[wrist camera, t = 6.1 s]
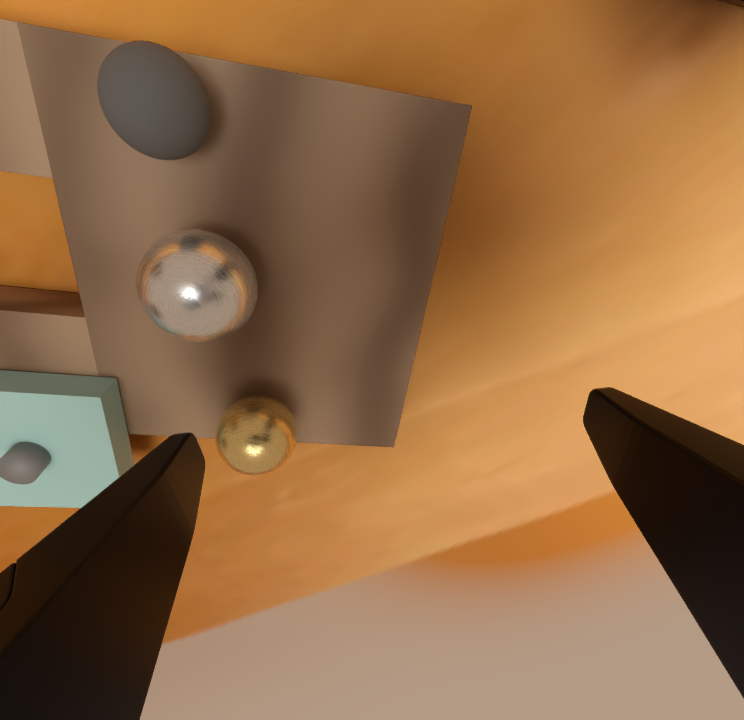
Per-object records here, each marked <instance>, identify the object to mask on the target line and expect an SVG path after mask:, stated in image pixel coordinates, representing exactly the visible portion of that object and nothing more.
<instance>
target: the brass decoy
mask: <svg viewBox="0 0 744 720" xmlns="http://www.w3.org/2000/svg"><path fill="white" fill-rule="evenodd" d="M296 441H297V426H296V421H295V419H294V416H293V415H292V413H291V411H290V410H289V409H288V408H287V407H286V406H285V405H284V404H283V403H282V402H280V401H278V400H277V399H274V398H272V397H269V396H263V395H255V396H248V397H245V398H242V399H240V400H238V401H236V402H235V403H233V404H232V405H231V406H230V407H229V408H227V410H226V411H225V412H224V413H223V415H222V416H221V418H220V420H219V422H218V425H217V429H216V445H217V449H218V452H219V454H220V456H221V458H222V459H223V460H224V462H225V463H226V464H227V465H228V466H230V467H231V468H232V469H234V470H235V471H237V472H240V473H243V474H247V475H262V474H266V473H269V472H272V471H274V470H276V469H277V468H279V467H280V466H282V465H283V464H284V463H285V462H286V461H287V460H288V458H289V457H290V456H291V454H292V452H293V450H294V448H295V445H296Z"/></svg>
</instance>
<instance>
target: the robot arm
mask: <svg viewBox="0 0 744 720" xmlns="http://www.w3.org/2000/svg"><path fill="white" fill-rule="evenodd" d="M720 1H724V2H728V3H732V4H736V5H740V6H744V0H720ZM583 423H584V427H585V429H586V431H587V433H588V435H589V437H590V440H591V442H592V444H593V446H594V448H595V450H596V452H597V454H598V456H599V458H600V461H601V463H602V465H603V467H604V469H605V471H606V473H607V475H608V477H609V479H610V481H611V483H612V485H613V487H614V488H615V490H616V492H617V493H618V495H619V497H620V498H621V500H622V501H623V503H624V505H625V507H626V508H627V510H628V511H629V513H630V515H631V516H632V518H633V519H634V521H635V523H636V524H637V526H638V528H639V529H640V531H641V532H642V534H643V536H644V537H645V539H646V541H647V542H648V544H649V545H650V547H651V549H652V550H653V552H654V553H655V555H656V557H657V558H658V560H659V562H660V563H661V565H662V566H663V568H664V570H665V571H666V573H667V575H668V576H669V578H670V579H671V581H672V583H673V584H674V586H675V588H676V589H677V591H678V593H679V594H680V596H681V597H682V599H683V600H684V602H685V604H686V605H687V607H688V609H689V610H690V612H691V614H692V615H693V617H694V618H695V620H696V622H697V623H698V625H699V627H700V628H701V630H702V631H703V633H704V635H705V636H706V638H707V639H708V641H709V643H710V644H711V646H712V648H713V649H714V651H715V653H716V654H717V656H718V657H719V659H720V661H721V662H722V664H723V666H724V667H725V669H726V670H727V672H728V674H729V675H730V677H731V679H732V680H733V682H734V683H735V685H736V687H737V688H738V690H739V691H740V693H741V695H742V696H743V698H744V445H742V444H740V443H738V442H736V441H733V440H731V439H729V438H726V437H724V436H722V435H719V434H717V433H715V432H713V431H710V430H708V429H706V428H703V427H701V426H699V425H697V424H694V423H692V422H690V421H687V420H685V419H683V418H681V417H678V416H676V415H674V414H671V413H669V412H667V411H665V410H662V409H660V408H658V407H655V406H653V405H651V404H649V403H646V402H644V401H642V400H639V399H637V398H635V397H632V396H630V395H628V394H626V393H623V392H621V391H619V390H616V389H614V388H611V387H606V388H597V389H593V390H592V391H591V392H590V393H589V396H588V400H587V404H586V408H585V412H584V416H583ZM204 472H205V459H204V456H203V454H202V451H201V449H200V446H199V444H198V442H197V439H196V437H195V435H194V434H193V433H190V432H186V433H177V434H173V435H171V436H170V437H168V438H167V439H166V440H165V441H163V442H162V443H161V444H160V445H159V446H157V447H156V448H155V449H154V450H152V451H151V452H150V453H149V454H147V455H146V456H145V457H144V458H142V459H141V460H140V461H139V462H137V463H136V464H135V465H134V466H133V467H131V468H130V469H129V470H128V471H126V472H125V473H124V474H123V475H121V476H120V477H119V478H118V479H116V480H115V481H114V482H113V483H111V484H110V485H109V486H108V487H107V488H105V489H104V490H103V491H102V492H100V493H99V494H98V495H97V496H95V497H94V498H93V499H92V500H90V501H89V502H88V503H87V504H85V505H84V506H83V507H82V508H80V509H79V510H78V511H77V512H76V513H74V514H73V515H72V516H71V517H69V518H68V519H67V520H66V521H64V522H63V523H62V524H61V525H59V526H58V527H57V528H56V529H54V530H53V531H52V532H51V533H49V534H48V535H47V536H46V537H44V538H43V539H42V540H41V541H40V542H38V543H37V544H36V545H35V546H33V547H32V548H31V549H30V550H28V551H27V552H26V553H25V554H23V555H22V556H21V557H20V558H18V559H17V562H16V563H12V564H11V565H10V566H8V567H7V568H6V569H5V570H3V571H2V572H1V573H0V720H140V716H141V713H142V709H143V706H144V703H145V699H146V696H147V692H148V689H149V685H150V682H151V679H152V675H153V672H154V668H155V665H156V661H157V658H158V655H159V651H160V648H161V644H162V641H163V637H164V634H165V631H166V627H167V624H168V620H169V617H170V613H171V610H172V607H173V603H174V600H175V596H176V593H177V589H178V586H179V583H180V579H181V576H182V572H183V569H184V565H185V562H186V559H187V555H188V552H189V548H190V545H191V541H192V537H193V534H194V529H195V524H196V519H197V513H198V507H199V501H200V496H201V490H202V484H203V478H204Z"/></svg>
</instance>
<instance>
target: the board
mask: <svg viewBox="0 0 744 720" xmlns="http://www.w3.org/2000/svg"><path fill="white" fill-rule="evenodd" d="M124 43H127V42H123V41H118V40H112V39H107V38H101V37H96V36H90V35H85V34H80V33H74V32H69V31H63V30H58V29H52V28H47V27H42V26H36V25H31V24H25V23H20V22H14V21H9V20H3V19H0V171H4V172H11V173H19V174H26V175H34V176H41V177H49V178H53V181H54V185H55V190H56V194H57V198H58V203H59V207H60V211H61V216H62V220H63V224H64V229H65V233H66V237H67V242H68V246H69V250H70V254H71V259H72V263H73V267H74V272H75V276H76V280H77V285H78V289H79V293H73V292H63V291H53V290H42V289H32V288H22V287H11V286H1V285H0V370H6V371H20V372H35V373H49V374H64V375H78V376H93V377H107V378H117V382H118V387H119V392H120V397H121V402H122V407H123V412H124V416H125V421H126V426H127V431H128V434H139V435H159V436H171V435H173V434H177V433H186V432H190V433H193V434H194V435H195V437H199V438H216V429H217V425H218V422H219V420H220V418H221V416H222V415H223V413H224V412H225V411H226V410H227V408H229V407H230V406H231V405H232V404H233V403H235V402H236V401H238V400H240V399H242V398H245V397H248V396H255V395H263V396H269V397H272V398H274V399H277V400H278V401H280V402H282V403H283V404H284V405H285V406H286V407H287V408H288V409H289V410H290V411H291V413H292V415H293V416H294V419H295V421H296V426H297V441H296V442H299V443H319V444H339V445H359V446H379V447H394V444H395V440H396V436H397V431H398V427H399V423H400V418H401V414H402V409H403V405H404V401H405V396H406V392H407V388H408V383H409V379H410V375H411V370H412V366H413V362H414V357H415V353H416V348H417V344H418V340H419V335H420V331H421V327H422V322H423V318H424V314H425V309H426V305H427V300H428V296H429V292H430V287H431V283H432V279H433V274H434V270H435V266H436V261H437V257H438V253H439V248H440V244H441V239H442V235H443V231H444V226H445V222H446V218H447V213H448V209H449V205H450V200H451V196H452V192H453V187H454V183H455V178H456V174H457V170H458V165H459V161H460V157H461V152H462V148H463V144H464V139H465V135H466V131H467V126H468V122H469V117H470V113H471V109H472V106H471V105H466V104H460V103H455V102H449V101H444V100H438V99H433V98H428V97H422V96H417V95H411V94H406V93H400V92H395V91H389V90H384V89H379V88H373V87H368V86H362V85H357V84H351V83H346V82H341V81H335V80H330V79H324V78H319V77H313V76H308V75H302V74H297V73H292V72H286V71H281V70H275V69H270V68H264V67H259V66H254V65H248V64H243V63H237V62H232V61H226V60H221V59H215V58H210V57H205V56H199V55H194V54H188V53H183V52H177V51H174V52H175V53H177V54H178V55H179V56H181V57H182V58H183V59H184V60H186V61H187V62H188V63H189V64H190V66H191V67H192V68H193V69H194V70H195V72H196V73H197V74H198V76H199V77H200V79H201V81H202V83H203V84H204V87H205V89H206V91H207V94H208V97H209V101H210V105H211V126H210V130H209V133H208V135H207V138H206V140H205V141H204V143H203V144H202V146H201V147H200V148H199V149H198V150H197V151H195V152H194V153H193V154H191V155H189V156H187V157H185V158H182V159H177V160H160V159H155V158H152V157H149V156H146V155H144V154H142V153H140V152H138V151H136V150H135V149H133V148H132V147H130V146H129V145H128V144H127V143H125V142H124V141H123V140H122V139H121V138H120V137H119V136H118V135H117V134H116V132H115V131H114V130H113V129H112V127H111V126H110V124H109V123H108V121H107V119H106V118H105V115H104V113H103V111H102V108H101V105H100V102H99V98H98V91H97V79H98V73H99V70H100V66H101V64H102V62H103V60H104V59H105V58H106V56H107V55H108V54H109V53H110V52H111V51H112V50H113V49H114V48H116V47H117V46H119V45H121V44H124ZM188 229H200V230H206V231H210V232H213V233H216V234H219V235H221V236H223V237H225V238H227V239H228V240H230V241H231V242H233V243H234V244H235V245H236V246H238V247H239V248H240V249H241V250H242V251H243V253H244V254H245V255H246V256H247V258H248V259H249V261H250V262H251V264H252V266H253V268H254V271H255V274H256V278H257V284H258V296H257V301H256V305H255V308H254V311H253V313H252V314H251V316H250V318H249V320H248V321H247V322H246V323H245V325H243V326H242V327H241V328H240V329H239V330H238V331H237V332H235V333H234V334H232V335H230V336H228V337H226V338H224V339H221V340H218V341H213V342H204V343H197V342H189V341H185V340H181V339H179V338H176V337H174V336H172V335H170V334H168V333H166V332H165V331H163V330H162V329H160V328H159V327H158V326H157V325H156V324H155V323H154V322H153V321H152V320H151V319H150V318H149V317H148V315H147V314H146V312H145V311H144V309H143V307H142V305H141V303H140V300H139V297H138V293H137V287H136V278H137V271H138V267H139V264H140V262H141V259H142V257H143V256H144V254H145V252H146V251H147V250H148V249H149V248H150V247H151V245H152V244H154V243H155V242H156V241H157V240H159V239H160V238H162V237H164V236H165V235H168V234H170V233H173V232H175V231H180V230H188Z"/></svg>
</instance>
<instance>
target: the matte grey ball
mask: <svg viewBox="0 0 744 720" xmlns="http://www.w3.org/2000/svg"><path fill="white" fill-rule="evenodd" d="M97 91H98V98H99V102H100V105H101V108H102V111H103V113H104V115H105V118H106V119H107V121H108V123H109V124H110V126H111V127H112V129H113V130H114V131H115V132H116V134H117V135H118V136H119V137H120V138H121V139H122V140H123V141H124V142H125V143H127V144H128V145H129V146H130V147H132V148H133V149H135V150H136V151H138V152H140V153H142V154H144V155H146V156H149V157H152V158H155V159H160V160H177V159H182V158H185V157H187V156H189V155H191V154H193V153H194V152H195V151H197V150H198V149H199V148H200V147H201V146H202V144H203V143H204V141H205V140H206V138H207V135H208V133H209V130H210V126H211V105H210V101H209V97H208V94H207V91H206V89H205V87H204V84H203V83H202V81H201V79H200V77H199V76H198V74H197V73H196V72H195V70H194V69H193V68H192V67H191V66H190V64H189V63H188V62H187V61H186V60H184V59H183V58H182V57H181V56H179V55H178V54H177V53H175V52H174V51H172V50H171V49H169V48H167V47H165V46H162V45H160V44H157V43H153V42H149V41H132V42H127V43H124V44H121V45H119V46H117V47H116V48H114V49H113V50H112V51H111V52H110V53H109V54H108V55H107V56H106V58H105V59H104V60H103V62H102V64H101V66H100V70H99V73H98V79H97Z"/></svg>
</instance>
